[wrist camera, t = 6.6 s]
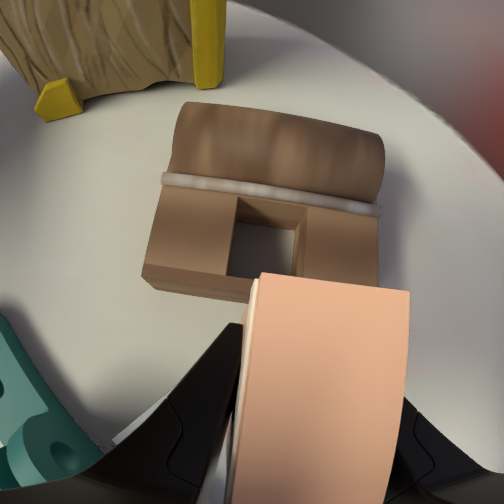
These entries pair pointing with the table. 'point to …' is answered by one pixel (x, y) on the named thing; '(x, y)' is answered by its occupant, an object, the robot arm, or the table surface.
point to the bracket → (35, 423)
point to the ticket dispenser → (264, 198)
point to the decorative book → (110, 47)
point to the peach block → (317, 393)
